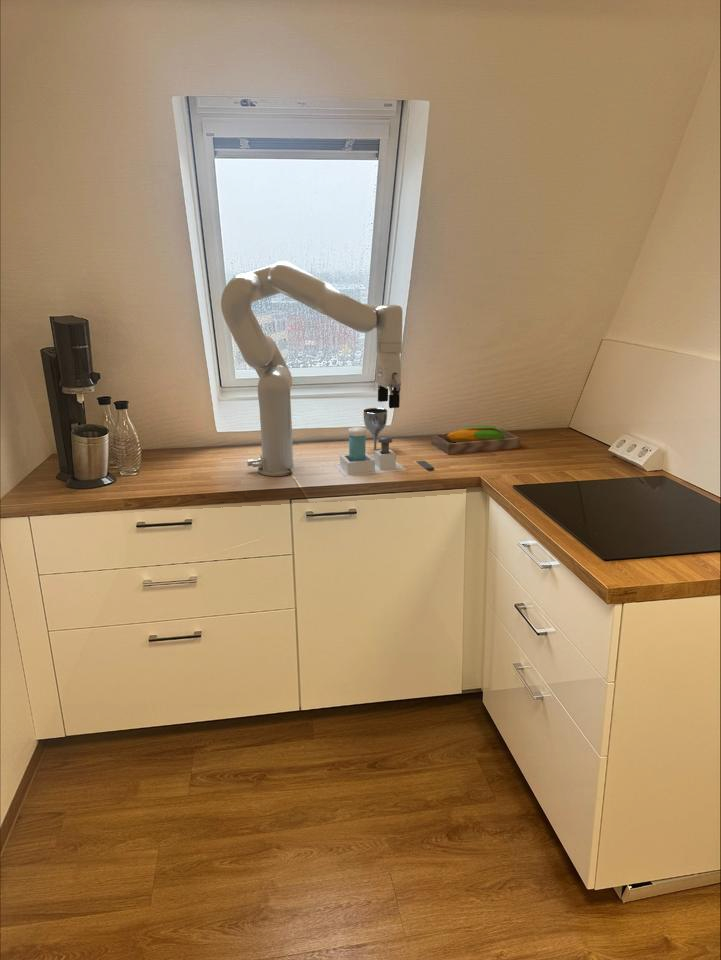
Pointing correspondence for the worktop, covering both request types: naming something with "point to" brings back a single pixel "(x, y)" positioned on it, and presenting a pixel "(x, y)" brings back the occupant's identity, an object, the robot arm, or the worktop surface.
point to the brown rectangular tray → (475, 443)
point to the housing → (369, 464)
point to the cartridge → (356, 444)
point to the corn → (476, 434)
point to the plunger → (385, 443)
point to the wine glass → (375, 421)
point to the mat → (425, 465)
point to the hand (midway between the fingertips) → (388, 404)
